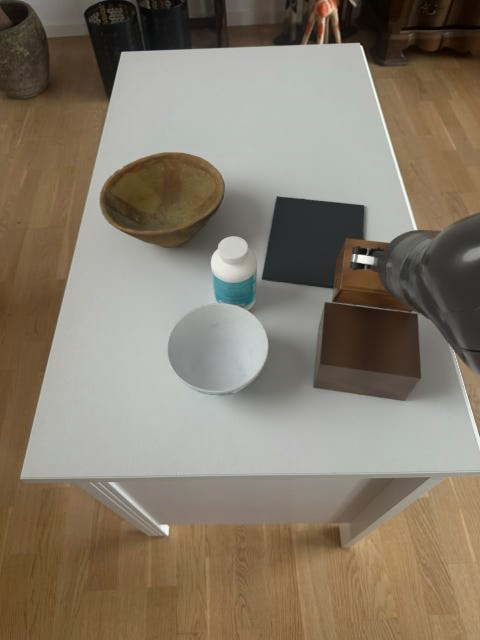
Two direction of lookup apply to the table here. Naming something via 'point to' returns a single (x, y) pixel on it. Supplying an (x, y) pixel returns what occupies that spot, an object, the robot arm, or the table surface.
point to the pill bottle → (234, 273)
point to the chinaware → (217, 348)
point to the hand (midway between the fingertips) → (391, 258)
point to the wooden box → (361, 281)
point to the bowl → (162, 197)
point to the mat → (309, 240)
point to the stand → (367, 351)
